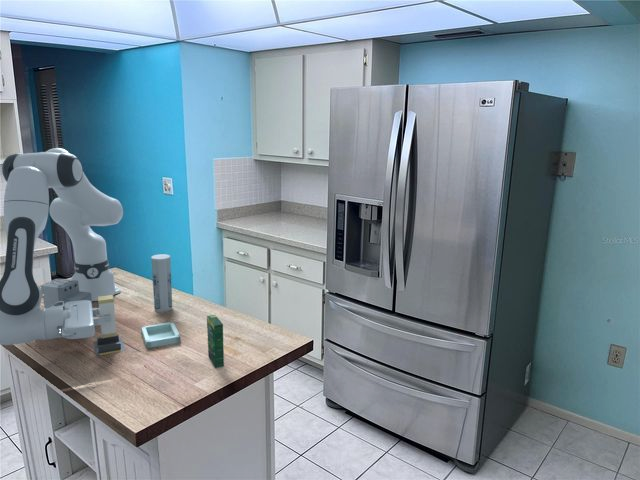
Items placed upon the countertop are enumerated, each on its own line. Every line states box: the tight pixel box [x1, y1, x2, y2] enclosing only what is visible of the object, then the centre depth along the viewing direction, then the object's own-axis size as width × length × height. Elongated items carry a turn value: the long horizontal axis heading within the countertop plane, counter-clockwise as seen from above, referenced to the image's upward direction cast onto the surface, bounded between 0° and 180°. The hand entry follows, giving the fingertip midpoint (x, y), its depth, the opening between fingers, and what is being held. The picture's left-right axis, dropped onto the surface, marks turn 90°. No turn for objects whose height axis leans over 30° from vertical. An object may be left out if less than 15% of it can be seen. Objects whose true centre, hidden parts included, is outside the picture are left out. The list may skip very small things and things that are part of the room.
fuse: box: [98, 295, 118, 338], centre depth 141 cm, size 4×4×12 cm
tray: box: [141, 321, 181, 349], centre depth 149 cm, size 12×10×3 cm
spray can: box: [150, 253, 173, 313], centre depth 171 cm, size 6×6×20 cm
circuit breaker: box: [39, 277, 93, 309], centre depth 154 cm, size 8×14×15 cm, turn 78°
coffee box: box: [206, 314, 225, 369], centre depth 135 cm, size 8×3×13 cm, turn 27°
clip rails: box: [93, 333, 126, 357], centre depth 142 cm, size 10×8×2 cm
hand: (110, 314), depth 141 cm, fingers closed on fuse, 3 cm apart
